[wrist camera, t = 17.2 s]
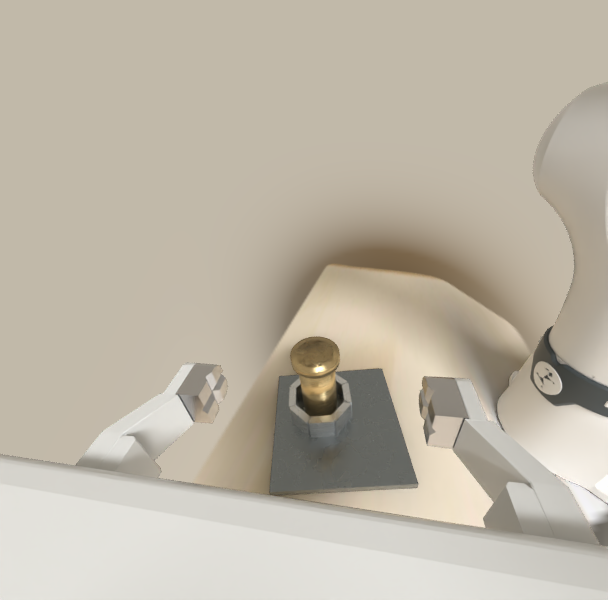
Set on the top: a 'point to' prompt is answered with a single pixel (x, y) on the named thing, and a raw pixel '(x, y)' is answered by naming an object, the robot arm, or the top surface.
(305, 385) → the brass fitting
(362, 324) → the top surface
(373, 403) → the flange base
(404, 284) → the top surface
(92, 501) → the robot arm
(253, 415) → the top surface
